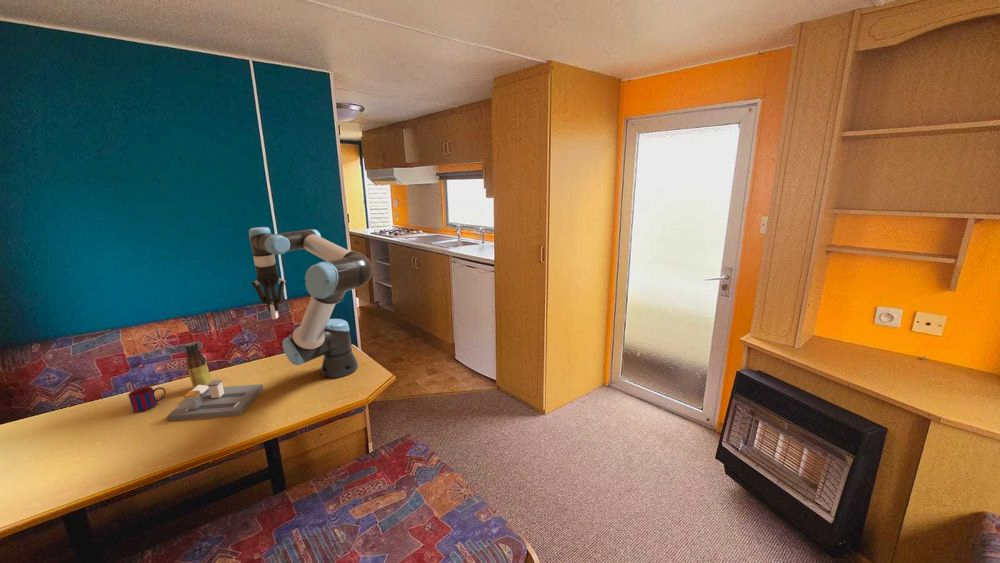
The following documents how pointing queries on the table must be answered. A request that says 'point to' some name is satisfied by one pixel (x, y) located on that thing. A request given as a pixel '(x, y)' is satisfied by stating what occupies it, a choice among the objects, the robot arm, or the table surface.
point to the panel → (219, 403)
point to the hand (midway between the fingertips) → (275, 317)
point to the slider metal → (193, 400)
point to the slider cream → (216, 388)
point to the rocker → (201, 388)
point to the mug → (144, 399)
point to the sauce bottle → (197, 365)
